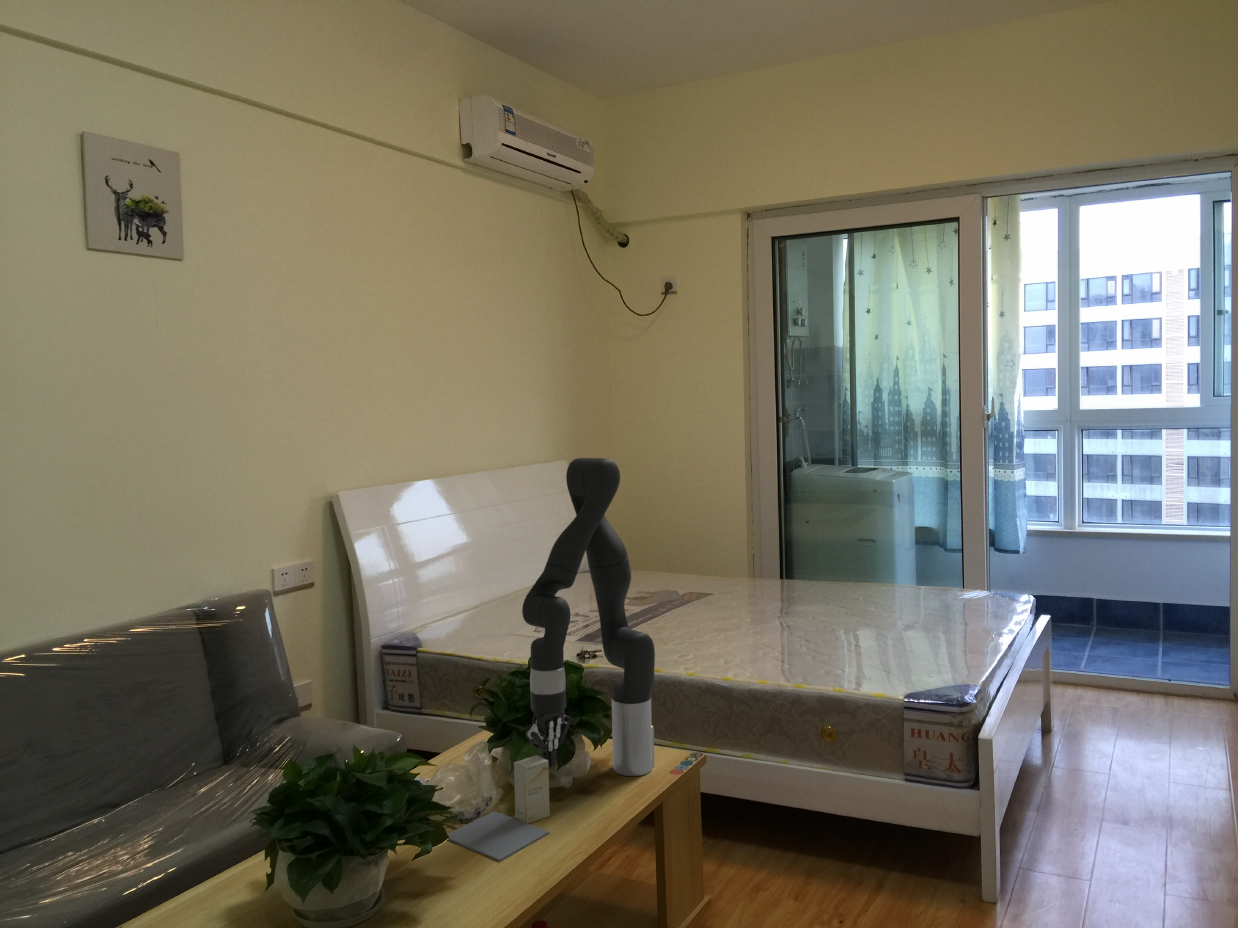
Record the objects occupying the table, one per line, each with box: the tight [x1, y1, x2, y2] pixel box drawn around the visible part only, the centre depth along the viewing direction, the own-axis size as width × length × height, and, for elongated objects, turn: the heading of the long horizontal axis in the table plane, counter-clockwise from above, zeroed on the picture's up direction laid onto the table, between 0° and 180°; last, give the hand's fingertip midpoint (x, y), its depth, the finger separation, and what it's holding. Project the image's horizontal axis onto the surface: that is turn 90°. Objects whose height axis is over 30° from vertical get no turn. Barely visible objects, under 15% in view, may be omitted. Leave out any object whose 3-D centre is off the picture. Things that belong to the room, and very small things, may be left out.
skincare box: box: [513, 754, 551, 824], centre depth 202 cm, size 6×4×12 cm
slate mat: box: [447, 810, 550, 862], centre depth 195 cm, size 14×16×1 cm
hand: (549, 765), depth 206 cm, fingers closed
